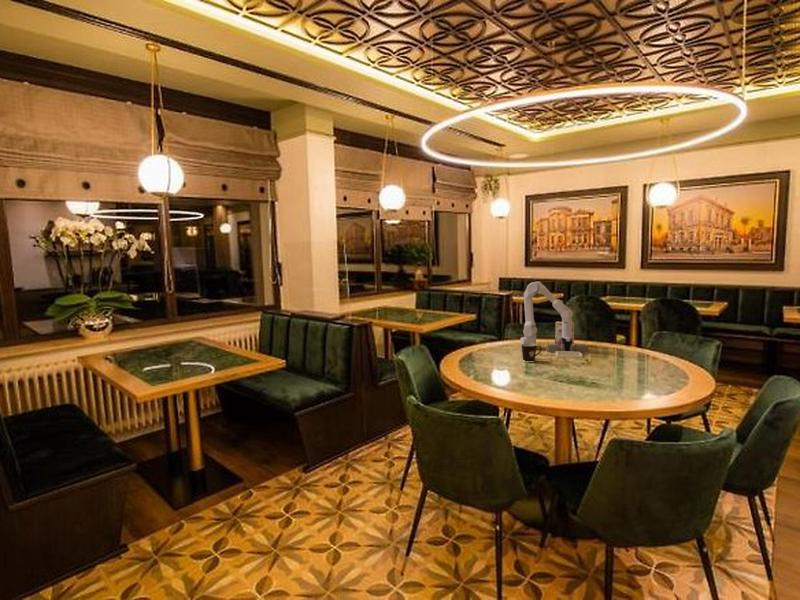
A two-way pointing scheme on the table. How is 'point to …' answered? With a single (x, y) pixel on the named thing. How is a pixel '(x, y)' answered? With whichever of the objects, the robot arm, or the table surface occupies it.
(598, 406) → the table surface
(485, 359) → the table surface
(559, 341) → the candy bar box
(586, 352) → the fuse board
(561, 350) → the marked fuse
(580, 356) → the parts tray
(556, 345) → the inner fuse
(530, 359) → the coffee mug
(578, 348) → the outer fuse
